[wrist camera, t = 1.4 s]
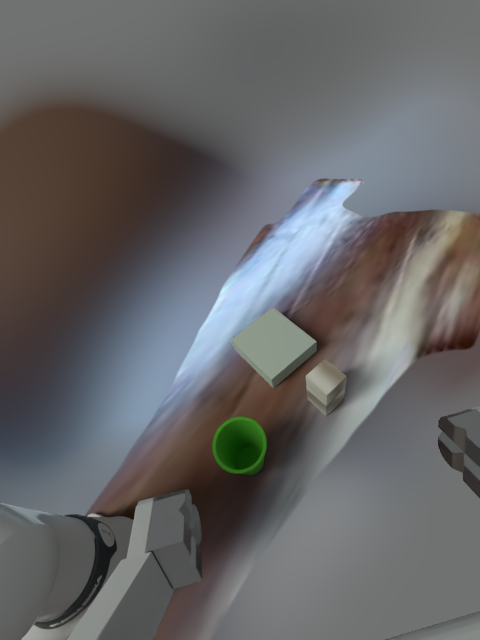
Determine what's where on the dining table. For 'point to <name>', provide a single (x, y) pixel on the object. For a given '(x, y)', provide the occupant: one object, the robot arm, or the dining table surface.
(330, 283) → the dining table surface
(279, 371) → the base plinth
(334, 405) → the cream block
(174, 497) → the robot arm
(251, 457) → the cup
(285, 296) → the dining table surface
